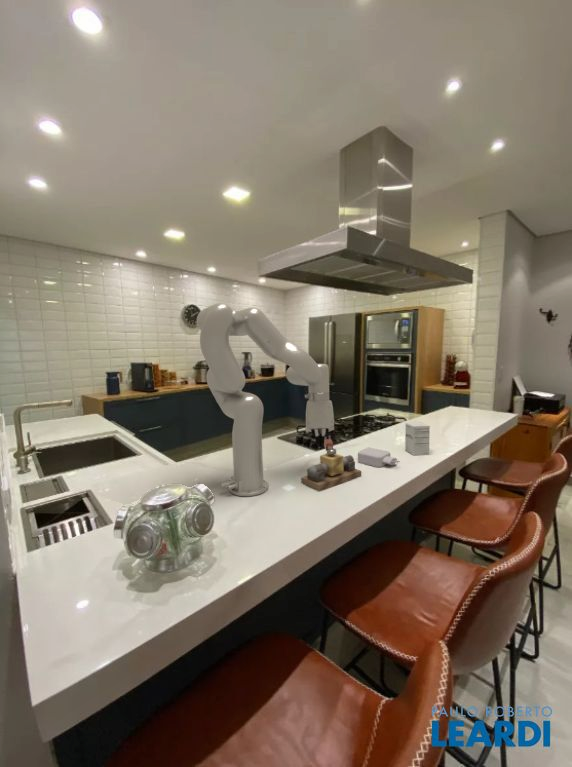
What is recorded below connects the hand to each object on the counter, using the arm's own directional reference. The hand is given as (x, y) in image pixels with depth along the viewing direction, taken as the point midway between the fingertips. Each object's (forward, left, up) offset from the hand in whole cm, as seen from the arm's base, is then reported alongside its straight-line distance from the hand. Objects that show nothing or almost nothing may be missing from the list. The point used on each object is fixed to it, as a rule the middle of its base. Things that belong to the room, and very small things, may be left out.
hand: (320, 445), depth 122 cm
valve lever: (0, -6, -1) cm, 6 cm away
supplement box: (+45, -12, -10) cm, 48 cm away
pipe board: (-4, -10, -9) cm, 14 cm away
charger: (+22, -10, -10) cm, 26 cm away
